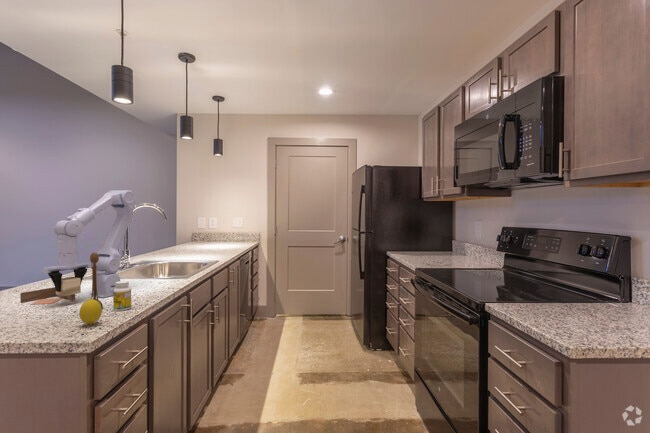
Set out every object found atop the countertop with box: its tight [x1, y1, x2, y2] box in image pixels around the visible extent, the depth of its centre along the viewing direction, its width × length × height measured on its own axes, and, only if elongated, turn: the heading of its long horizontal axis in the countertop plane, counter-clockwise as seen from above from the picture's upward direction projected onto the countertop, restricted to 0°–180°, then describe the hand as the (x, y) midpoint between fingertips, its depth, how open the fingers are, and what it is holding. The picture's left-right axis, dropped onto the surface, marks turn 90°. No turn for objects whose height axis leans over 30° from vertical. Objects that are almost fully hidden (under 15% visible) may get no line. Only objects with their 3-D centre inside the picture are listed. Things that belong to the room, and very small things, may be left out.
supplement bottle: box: [112, 280, 132, 312], centre depth 117 cm, size 5×5×10 cm
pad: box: [29, 297, 63, 306], centre depth 126 cm, size 7×7×1 cm
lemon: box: [79, 298, 103, 326], centre depth 101 cm, size 6×6×8 cm
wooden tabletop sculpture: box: [89, 252, 104, 310], centre depth 117 cm, size 6×5×20 cm
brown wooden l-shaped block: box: [19, 286, 76, 304], centre depth 126 cm, size 13×12×4 cm
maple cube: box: [56, 276, 82, 296], centre depth 123 cm, size 6×6×6 cm
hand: (68, 289), depth 123 cm, fingers closed on maple cube, 5 cm apart
